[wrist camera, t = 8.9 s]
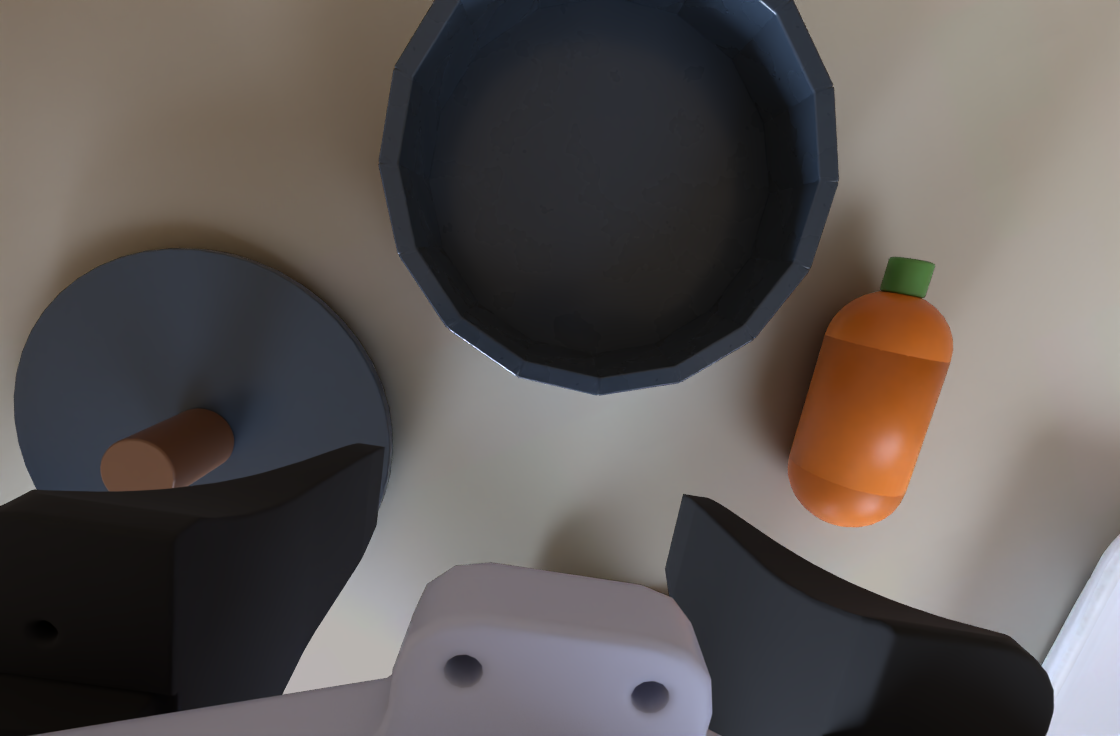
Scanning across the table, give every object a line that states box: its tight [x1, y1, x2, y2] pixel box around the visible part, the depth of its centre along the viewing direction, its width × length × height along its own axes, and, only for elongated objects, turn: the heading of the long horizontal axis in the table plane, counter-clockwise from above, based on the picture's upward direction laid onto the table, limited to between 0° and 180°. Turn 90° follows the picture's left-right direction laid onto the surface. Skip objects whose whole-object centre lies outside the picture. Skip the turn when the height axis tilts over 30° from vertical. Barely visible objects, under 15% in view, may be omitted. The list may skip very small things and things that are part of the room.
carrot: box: [788, 257, 953, 527], centre depth 20 cm, size 10×4×4 cm, turn 169°
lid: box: [14, 248, 393, 509], centre depth 20 cm, size 14×14×5 cm
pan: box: [379, 0, 839, 395], centre depth 19 cm, size 13×13×4 cm
